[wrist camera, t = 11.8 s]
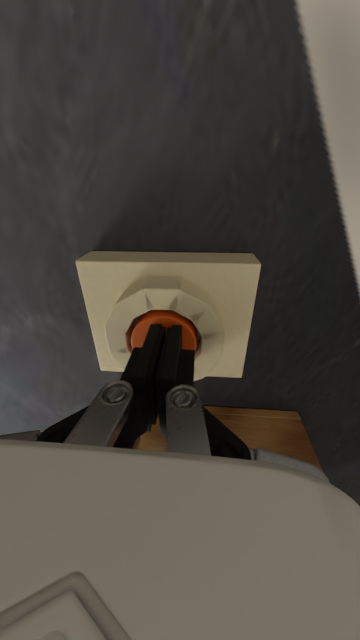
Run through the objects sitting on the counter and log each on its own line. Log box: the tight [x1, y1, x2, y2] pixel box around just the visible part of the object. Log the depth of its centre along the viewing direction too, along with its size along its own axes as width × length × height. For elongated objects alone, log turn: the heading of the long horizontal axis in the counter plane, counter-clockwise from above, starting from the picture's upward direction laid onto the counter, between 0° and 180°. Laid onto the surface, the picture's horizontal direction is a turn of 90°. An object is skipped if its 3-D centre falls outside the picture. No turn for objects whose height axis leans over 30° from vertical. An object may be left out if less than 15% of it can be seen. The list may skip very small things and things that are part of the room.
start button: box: [131, 310, 197, 351], centre depth 13 cm, size 4×4×2 cm
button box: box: [76, 251, 261, 381], centre depth 15 cm, size 10×8×4 cm
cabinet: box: [137, 406, 323, 472], centre depth 20 cm, size 15×13×10 cm
